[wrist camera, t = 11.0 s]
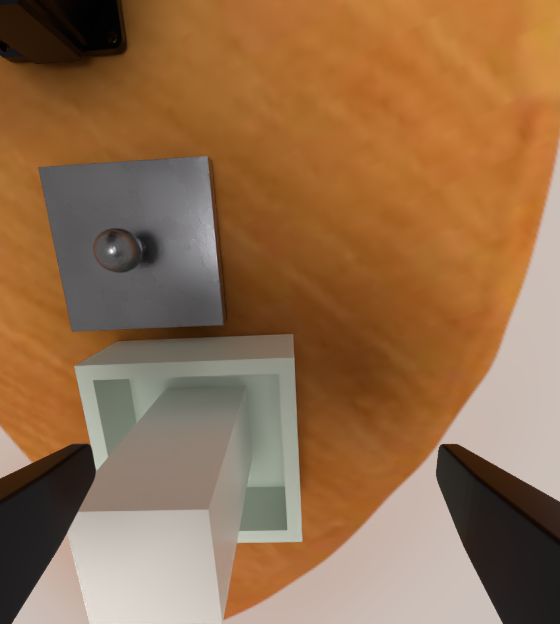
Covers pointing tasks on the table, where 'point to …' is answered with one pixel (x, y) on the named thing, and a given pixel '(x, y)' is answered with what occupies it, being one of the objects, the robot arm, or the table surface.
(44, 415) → the table surface
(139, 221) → the stud plate
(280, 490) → the bin
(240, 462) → the grey tall block
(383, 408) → the table surface
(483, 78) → the table surface
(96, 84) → the table surface
